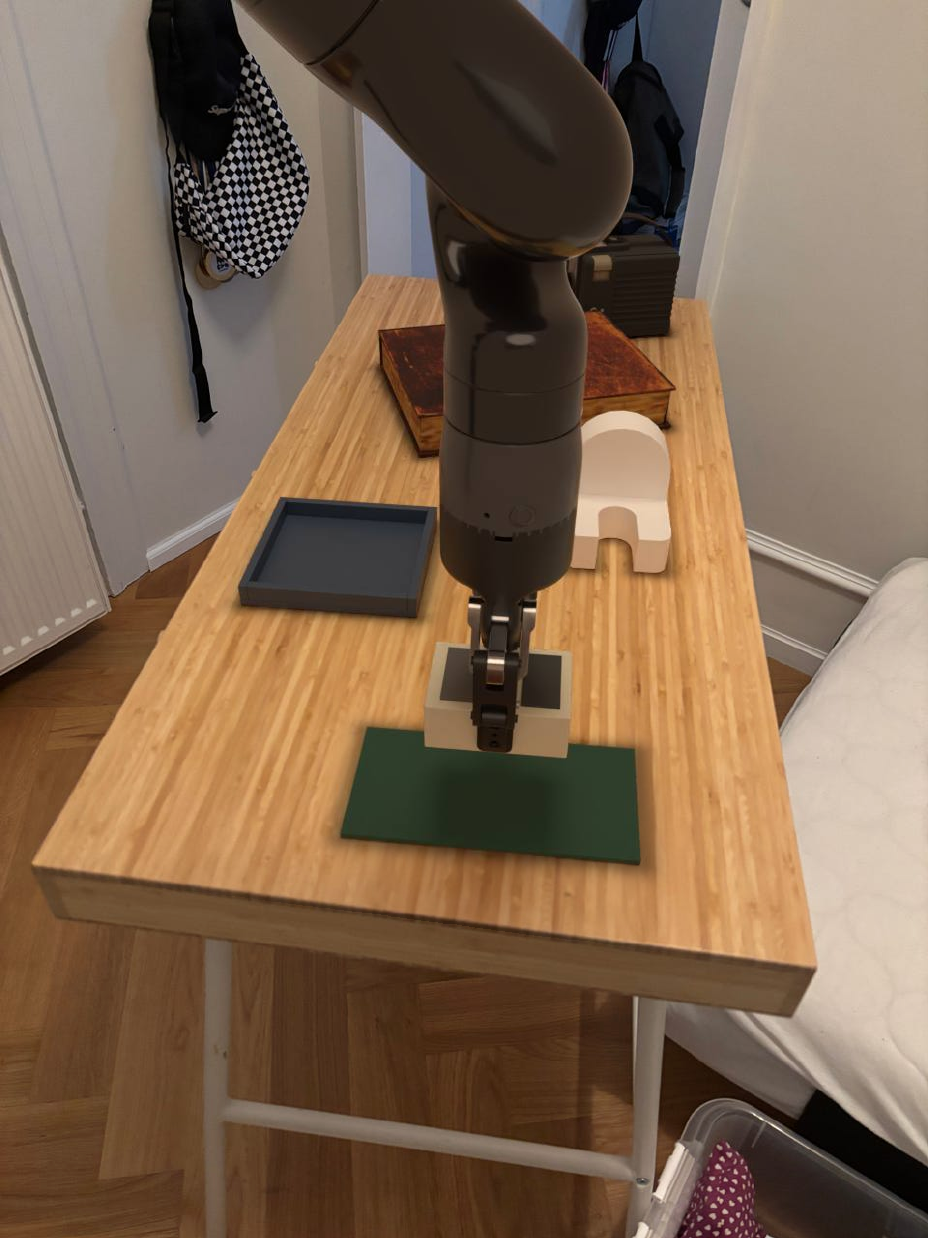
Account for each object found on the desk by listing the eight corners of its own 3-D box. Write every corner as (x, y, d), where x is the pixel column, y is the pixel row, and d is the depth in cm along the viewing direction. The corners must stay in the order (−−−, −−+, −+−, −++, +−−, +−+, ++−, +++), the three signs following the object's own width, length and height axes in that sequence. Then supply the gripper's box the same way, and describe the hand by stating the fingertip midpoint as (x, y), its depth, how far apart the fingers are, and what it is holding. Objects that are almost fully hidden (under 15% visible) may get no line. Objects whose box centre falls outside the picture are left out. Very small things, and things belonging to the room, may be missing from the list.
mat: (340, 837, 63) (340, 833, 63) (367, 730, 71) (367, 726, 70) (639, 864, 62) (640, 861, 61) (634, 752, 69) (634, 748, 69)
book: (596, 345, 126) (600, 309, 123) (670, 428, 108) (676, 387, 105) (379, 366, 120) (377, 329, 117) (419, 457, 102) (418, 416, 99)
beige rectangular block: (424, 747, 59) (423, 705, 57) (436, 680, 64) (436, 639, 62) (566, 758, 59) (571, 716, 56) (568, 690, 64) (572, 649, 61)
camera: (554, 313, 135) (562, 203, 126) (645, 307, 137) (660, 199, 128) (575, 343, 127) (585, 228, 117) (672, 336, 129) (690, 223, 119)
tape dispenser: (653, 474, 100) (669, 380, 94) (666, 573, 86) (685, 471, 80) (564, 468, 101) (572, 375, 94) (562, 567, 87) (572, 465, 80)
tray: (240, 604, 82) (237, 585, 81) (282, 514, 93) (280, 496, 92) (416, 617, 81) (416, 598, 80) (437, 524, 92) (437, 506, 91)
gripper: (454, 421, 56) (453, 634, 67) (421, 561, 45) (426, 790, 56) (579, 428, 56) (558, 642, 66) (577, 572, 44) (553, 801, 55)
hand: (498, 709), depth 61 cm, fingers closed on beige rectangular block, 6 cm apart
